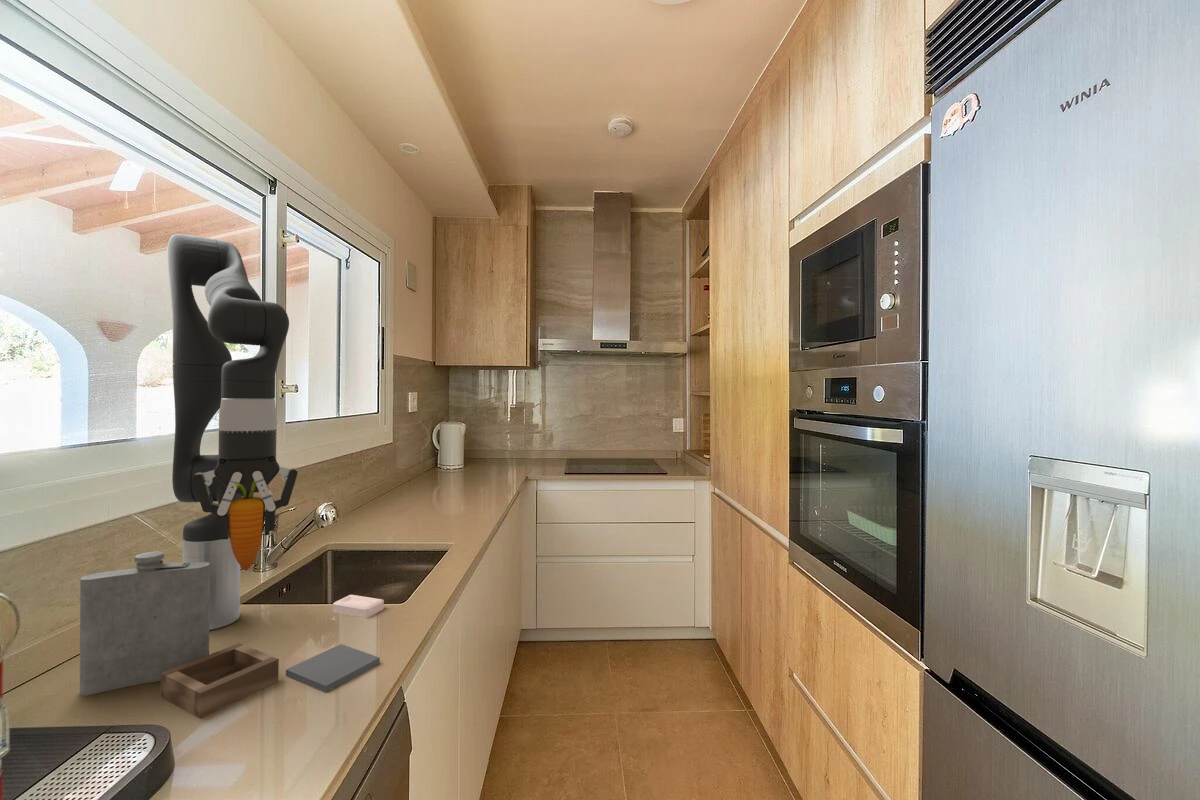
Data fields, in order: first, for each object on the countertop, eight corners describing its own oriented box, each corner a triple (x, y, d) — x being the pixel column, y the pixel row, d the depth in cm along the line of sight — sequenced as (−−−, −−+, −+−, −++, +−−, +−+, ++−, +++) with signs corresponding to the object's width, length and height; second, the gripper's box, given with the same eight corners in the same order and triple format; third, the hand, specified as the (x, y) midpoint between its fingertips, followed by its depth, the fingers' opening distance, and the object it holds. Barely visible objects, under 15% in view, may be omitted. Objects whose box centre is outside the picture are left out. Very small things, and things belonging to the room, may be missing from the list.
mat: (285, 675, 85) (285, 669, 85) (340, 649, 94) (340, 643, 94) (325, 692, 81) (325, 685, 81) (379, 663, 90) (379, 657, 90)
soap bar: (367, 620, 107) (367, 608, 107) (331, 614, 110) (331, 602, 110) (385, 610, 113) (385, 598, 113) (350, 604, 115) (350, 593, 115)
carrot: (269, 570, 82) (270, 474, 82) (231, 577, 79) (232, 477, 79) (259, 563, 86) (260, 471, 86) (223, 570, 82) (224, 474, 82)
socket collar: (160, 696, 79) (160, 673, 79) (238, 663, 89) (239, 643, 89) (200, 717, 74) (200, 693, 74) (278, 680, 84) (278, 658, 84)
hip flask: (75, 697, 78) (76, 564, 78) (87, 684, 82) (88, 556, 82) (206, 673, 86) (207, 551, 85) (211, 662, 89) (213, 544, 89)
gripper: (187, 429, 75) (185, 548, 75) (301, 428, 83) (300, 536, 83) (194, 426, 82) (192, 536, 82) (300, 425, 89) (298, 525, 89)
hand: (247, 535), depth 82 cm, fingers closed on carrot, 4 cm apart
